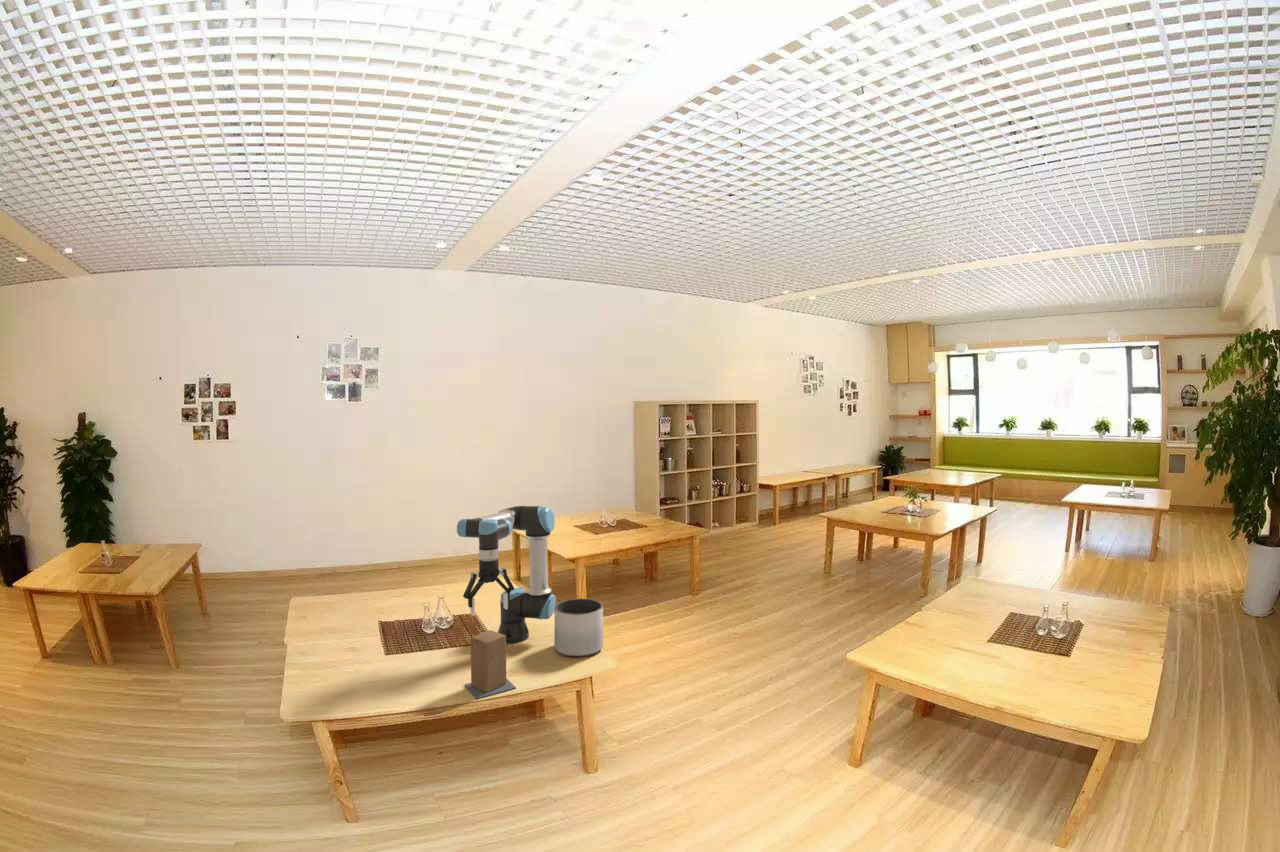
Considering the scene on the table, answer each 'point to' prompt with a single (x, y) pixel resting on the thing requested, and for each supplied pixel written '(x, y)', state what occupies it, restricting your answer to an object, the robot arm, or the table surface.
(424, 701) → the table surface
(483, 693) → the mat
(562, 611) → the planter
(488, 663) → the wooden block
